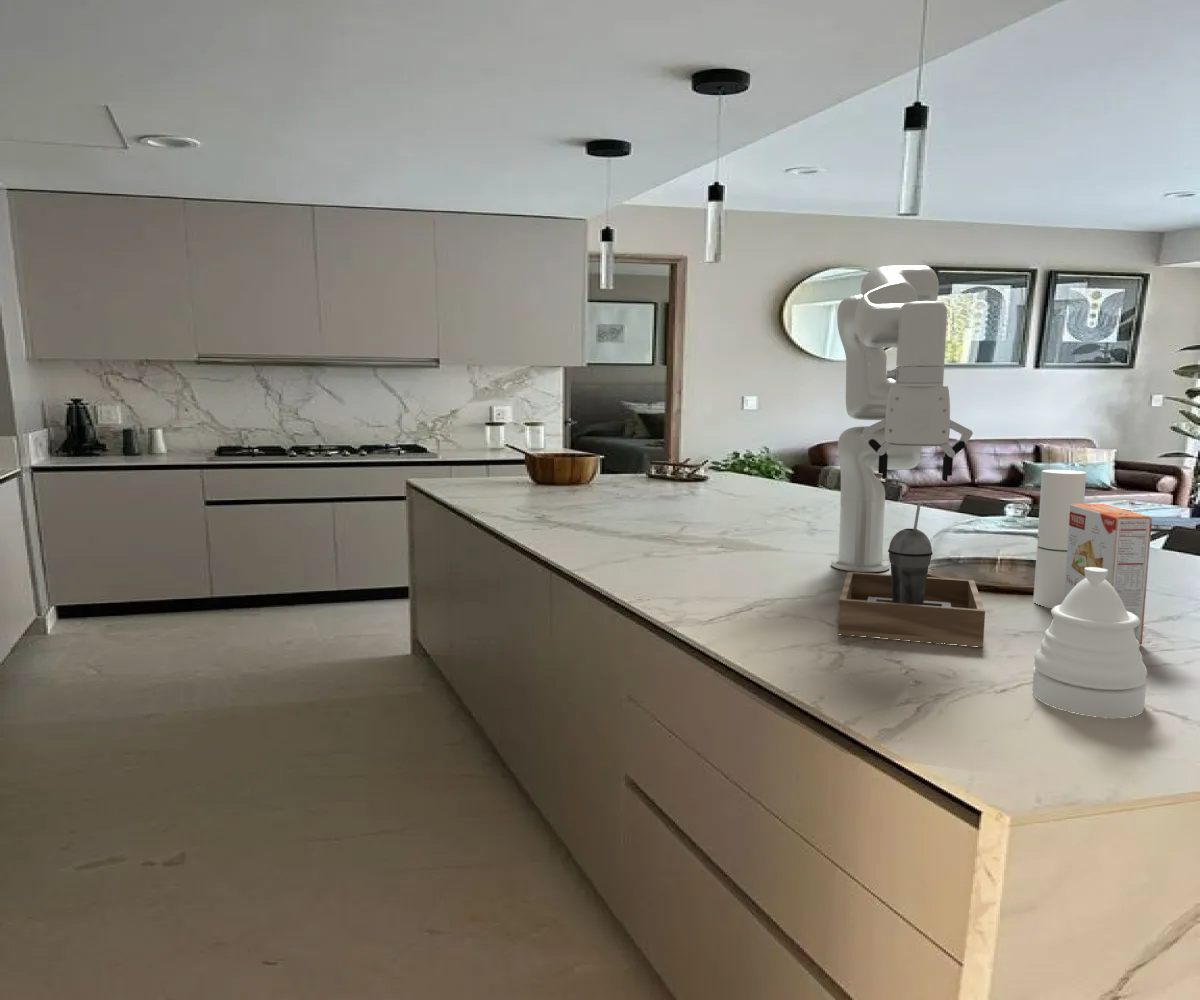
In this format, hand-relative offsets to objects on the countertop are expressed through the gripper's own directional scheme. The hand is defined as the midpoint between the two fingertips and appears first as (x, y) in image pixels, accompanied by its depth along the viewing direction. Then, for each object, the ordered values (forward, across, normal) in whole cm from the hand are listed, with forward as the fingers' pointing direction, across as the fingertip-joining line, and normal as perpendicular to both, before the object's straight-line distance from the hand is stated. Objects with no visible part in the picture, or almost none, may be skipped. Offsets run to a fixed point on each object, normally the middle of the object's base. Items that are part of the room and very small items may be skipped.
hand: (914, 479), depth 144 cm
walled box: (+25, 0, -1) cm, 25 cm away
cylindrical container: (+26, +26, +21) cm, 42 cm away
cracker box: (+25, +30, +3) cm, 40 cm away
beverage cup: (+24, 0, 0) cm, 24 cm away
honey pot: (+25, +22, -31) cm, 45 cm away
